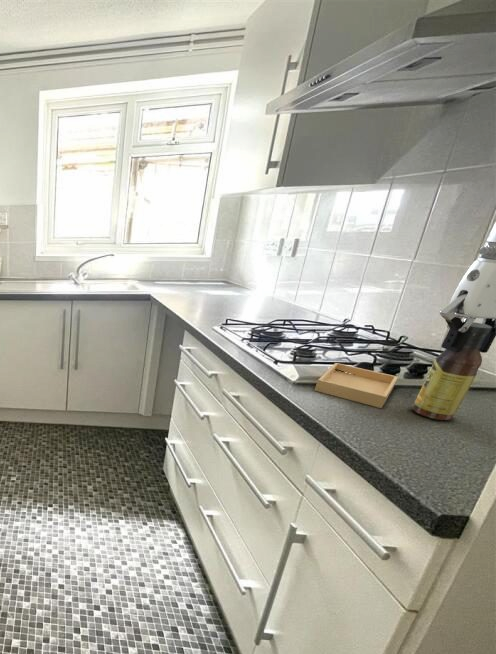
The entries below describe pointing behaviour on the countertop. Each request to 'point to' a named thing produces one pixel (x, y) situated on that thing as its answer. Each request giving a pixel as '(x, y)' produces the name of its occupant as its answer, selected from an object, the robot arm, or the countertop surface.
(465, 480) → the countertop surface
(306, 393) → the countertop surface
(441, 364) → the sauce bottle
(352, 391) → the serving tray
